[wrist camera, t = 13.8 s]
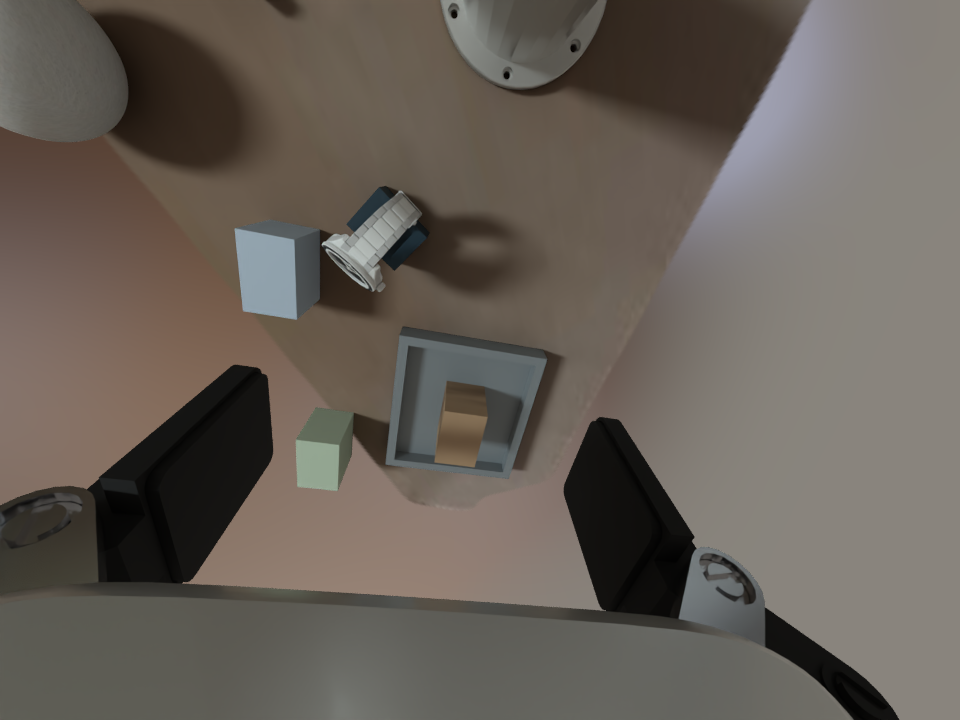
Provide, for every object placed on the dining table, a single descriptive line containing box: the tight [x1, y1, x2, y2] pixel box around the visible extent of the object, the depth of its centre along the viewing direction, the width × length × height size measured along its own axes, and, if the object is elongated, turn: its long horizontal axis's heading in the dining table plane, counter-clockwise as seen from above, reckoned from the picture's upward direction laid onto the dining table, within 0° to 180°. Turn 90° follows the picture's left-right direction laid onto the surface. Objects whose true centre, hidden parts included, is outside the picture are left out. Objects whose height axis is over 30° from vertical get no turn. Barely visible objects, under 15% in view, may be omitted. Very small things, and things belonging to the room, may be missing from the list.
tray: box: [385, 327, 547, 479], centre depth 43 cm, size 18×16×2 cm
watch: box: [322, 186, 429, 292], centre depth 29 cm, size 6×8×11 cm
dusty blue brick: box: [235, 220, 320, 320], centre depth 33 cm, size 7×4×6 cm, turn 169°
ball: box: [0, 0, 128, 142], centre depth 24 cm, size 10×10×10 cm
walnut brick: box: [435, 381, 488, 467], centre depth 41 cm, size 7×4×6 cm, turn 168°
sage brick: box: [296, 407, 354, 491], centre depth 43 cm, size 7×4×6 cm, turn 168°
